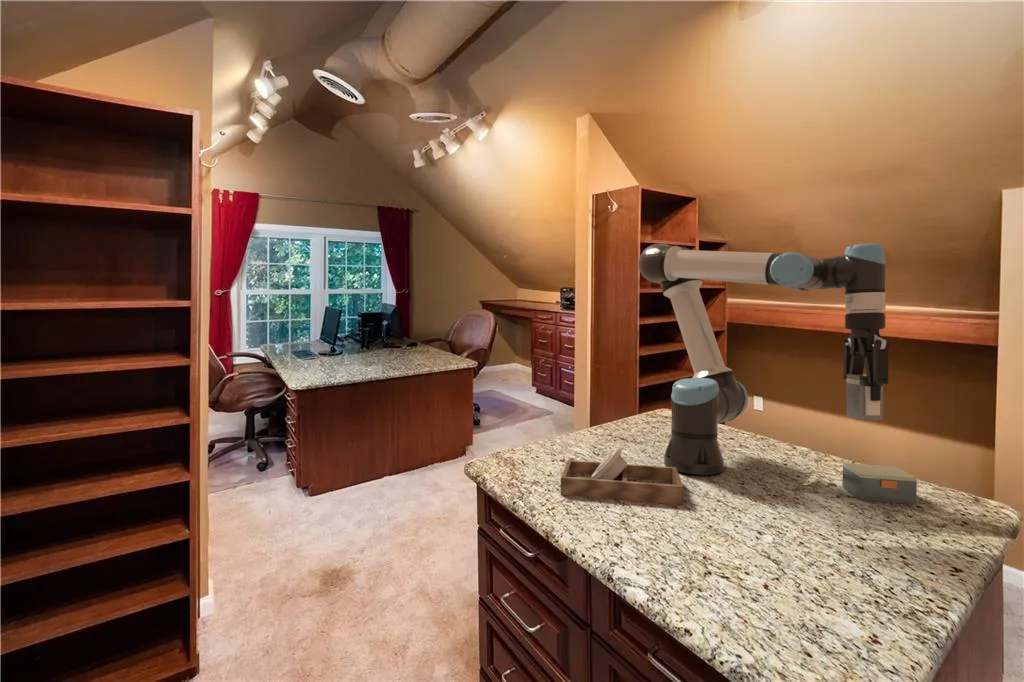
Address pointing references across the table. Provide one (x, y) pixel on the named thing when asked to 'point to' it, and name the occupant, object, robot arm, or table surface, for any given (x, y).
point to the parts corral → (624, 483)
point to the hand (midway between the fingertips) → (864, 412)
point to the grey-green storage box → (879, 483)
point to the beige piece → (610, 466)
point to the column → (859, 398)
